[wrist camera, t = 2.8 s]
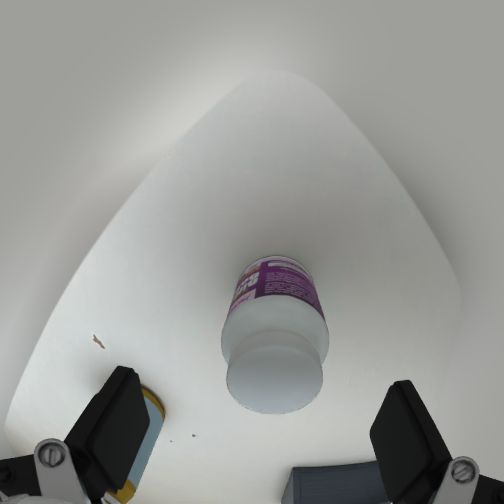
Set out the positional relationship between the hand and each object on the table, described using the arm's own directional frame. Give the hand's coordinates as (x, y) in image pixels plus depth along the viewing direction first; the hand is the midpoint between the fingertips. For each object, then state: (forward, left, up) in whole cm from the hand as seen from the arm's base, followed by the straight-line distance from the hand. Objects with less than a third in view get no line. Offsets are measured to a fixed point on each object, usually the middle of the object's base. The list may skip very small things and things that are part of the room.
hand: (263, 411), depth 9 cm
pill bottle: (0, 0, -11) cm, 11 cm away
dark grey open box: (-10, +29, -11) cm, 33 cm away
